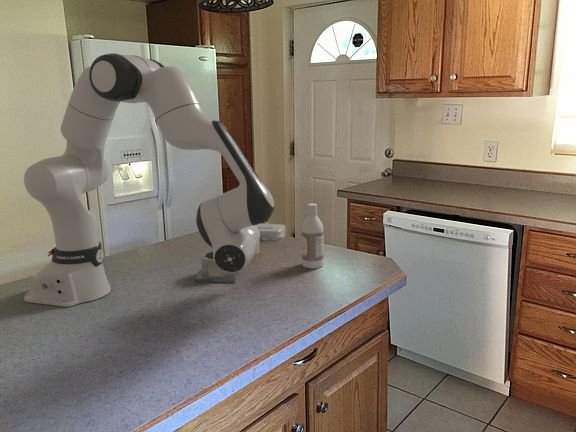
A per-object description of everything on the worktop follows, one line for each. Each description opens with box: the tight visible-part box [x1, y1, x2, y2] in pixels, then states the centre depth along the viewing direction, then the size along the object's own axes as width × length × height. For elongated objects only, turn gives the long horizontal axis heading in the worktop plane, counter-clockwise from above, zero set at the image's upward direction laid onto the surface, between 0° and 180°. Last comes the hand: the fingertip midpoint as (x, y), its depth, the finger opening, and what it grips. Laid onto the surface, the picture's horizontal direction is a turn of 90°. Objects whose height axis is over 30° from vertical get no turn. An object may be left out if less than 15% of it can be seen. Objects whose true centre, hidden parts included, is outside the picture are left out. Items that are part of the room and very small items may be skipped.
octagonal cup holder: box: [194, 250, 243, 284], centre depth 151 cm, size 12×12×6 cm
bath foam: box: [301, 202, 325, 270], centre depth 156 cm, size 7×7×20 cm
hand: (252, 225), depth 140 cm, fingers closed on smoothie, 6 cm apart
